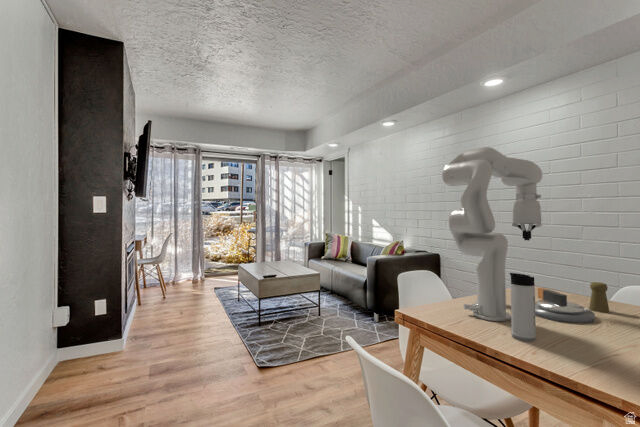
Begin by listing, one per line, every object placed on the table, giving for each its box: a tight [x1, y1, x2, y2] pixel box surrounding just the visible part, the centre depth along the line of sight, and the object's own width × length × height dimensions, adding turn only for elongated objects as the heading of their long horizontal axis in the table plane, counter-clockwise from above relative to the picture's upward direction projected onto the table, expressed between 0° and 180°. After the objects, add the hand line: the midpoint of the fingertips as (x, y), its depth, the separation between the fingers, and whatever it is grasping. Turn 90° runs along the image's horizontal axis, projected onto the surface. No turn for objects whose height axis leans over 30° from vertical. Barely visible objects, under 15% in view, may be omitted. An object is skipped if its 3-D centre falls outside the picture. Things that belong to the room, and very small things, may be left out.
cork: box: [589, 281, 610, 314], centre depth 124 cm, size 6×6×11 cm
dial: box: [536, 287, 585, 314], centre depth 120 cm, size 17×14×6 cm
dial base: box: [535, 301, 596, 324], centre depth 119 cm, size 20×20×3 cm
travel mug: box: [509, 272, 537, 343], centre depth 97 cm, size 6×7×20 cm
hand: (527, 240), depth 136 cm, fingers closed
